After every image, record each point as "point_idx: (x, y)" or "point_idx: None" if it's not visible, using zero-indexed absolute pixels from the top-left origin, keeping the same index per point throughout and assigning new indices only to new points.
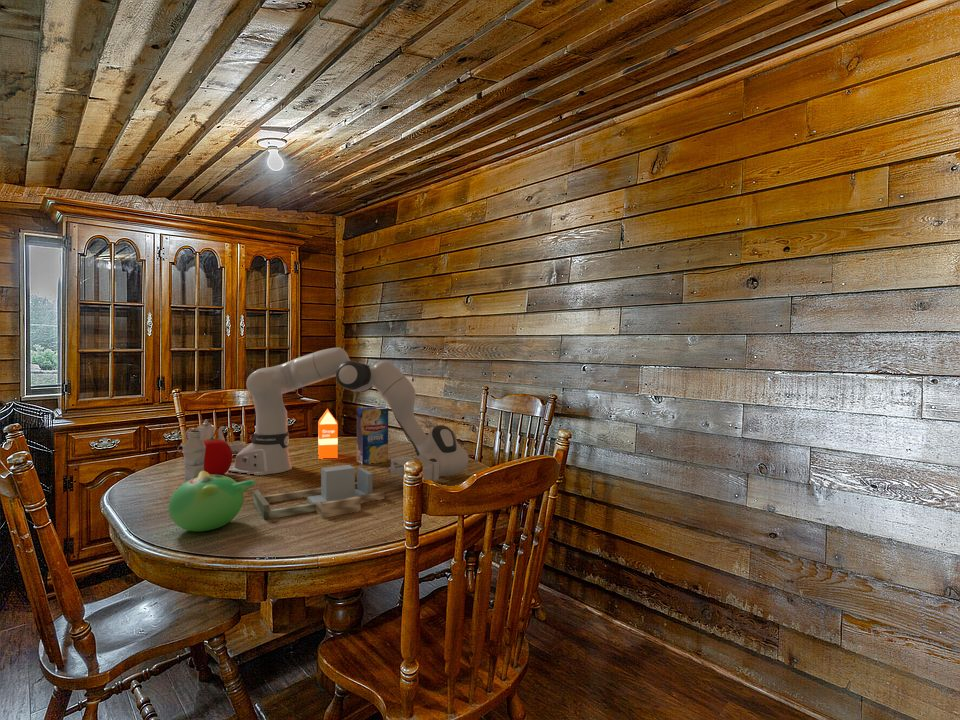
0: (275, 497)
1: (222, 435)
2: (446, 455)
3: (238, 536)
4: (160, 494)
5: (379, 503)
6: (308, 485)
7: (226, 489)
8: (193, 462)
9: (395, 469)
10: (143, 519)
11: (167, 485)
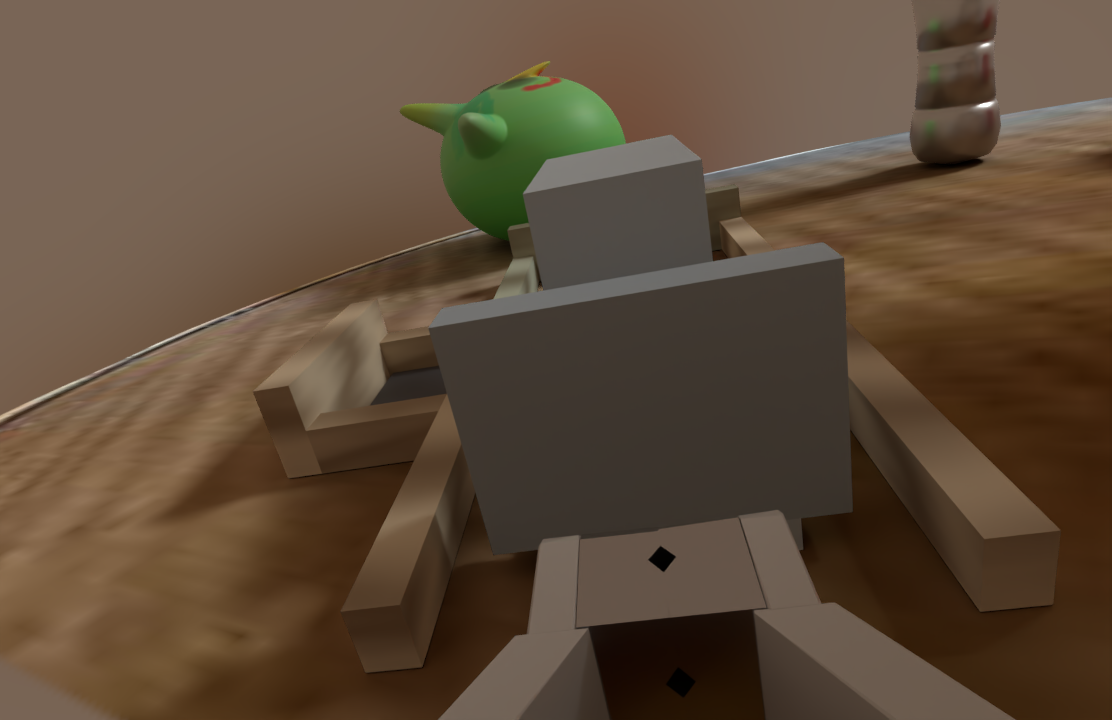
0: (732, 245)
1: None
2: None
3: (427, 272)
4: None
5: (304, 604)
6: (1106, 298)
7: (456, 127)
8: (918, 36)
9: (535, 633)
10: None
11: (1079, 124)
